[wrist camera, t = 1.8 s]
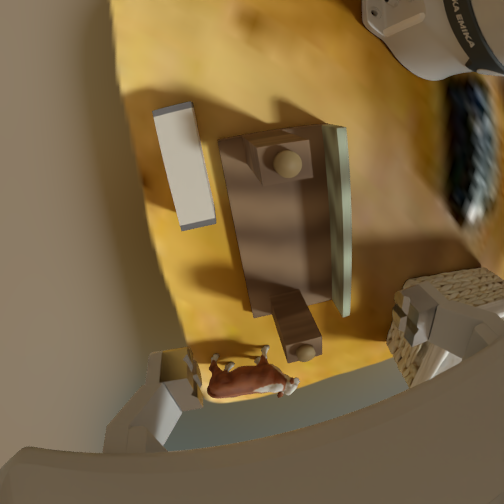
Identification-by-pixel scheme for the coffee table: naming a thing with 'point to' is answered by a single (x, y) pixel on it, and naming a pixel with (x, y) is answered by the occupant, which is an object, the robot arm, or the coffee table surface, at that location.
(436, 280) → the storage basket
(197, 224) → the rail bar
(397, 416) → the robot arm
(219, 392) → the bull figurine
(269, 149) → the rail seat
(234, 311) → the coffee table surface
